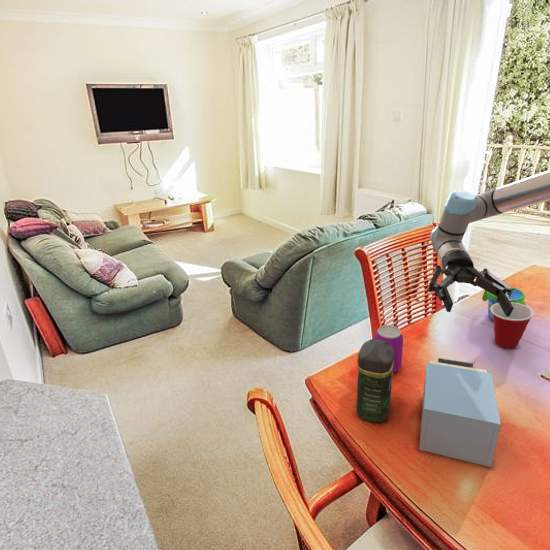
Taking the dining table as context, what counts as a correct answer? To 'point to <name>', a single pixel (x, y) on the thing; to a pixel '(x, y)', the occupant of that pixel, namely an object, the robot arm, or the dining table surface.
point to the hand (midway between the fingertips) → (479, 310)
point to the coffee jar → (374, 380)
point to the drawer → (456, 364)
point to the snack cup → (515, 297)
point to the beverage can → (392, 342)
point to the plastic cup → (510, 324)
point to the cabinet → (459, 414)
